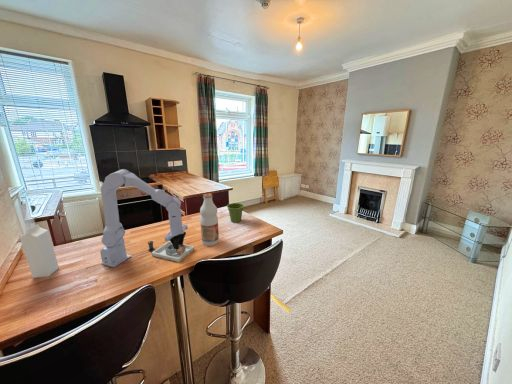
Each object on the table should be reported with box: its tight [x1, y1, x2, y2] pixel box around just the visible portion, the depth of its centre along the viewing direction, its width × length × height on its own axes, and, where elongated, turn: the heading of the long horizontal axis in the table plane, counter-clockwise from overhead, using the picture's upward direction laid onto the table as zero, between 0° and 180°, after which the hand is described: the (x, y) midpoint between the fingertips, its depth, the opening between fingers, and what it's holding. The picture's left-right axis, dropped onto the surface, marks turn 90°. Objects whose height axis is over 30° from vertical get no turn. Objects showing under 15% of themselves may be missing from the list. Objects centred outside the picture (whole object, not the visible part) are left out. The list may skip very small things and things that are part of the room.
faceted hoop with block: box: [165, 244, 186, 255], centre depth 106 cm, size 11×7×3 cm, turn 71°
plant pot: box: [226, 202, 245, 224], centre depth 145 cm, size 12×12×11 cm
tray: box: [151, 241, 195, 263], centre depth 107 cm, size 12×16×2 cm
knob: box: [147, 240, 156, 253], centre depth 109 cm, size 3×3×4 cm
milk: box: [19, 223, 60, 279], centre depth 88 cm, size 6×6×22 cm
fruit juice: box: [199, 193, 220, 247], centre depth 114 cm, size 9×9×28 cm
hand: (178, 247), depth 105 cm, fingers closed on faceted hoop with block, 2 cm apart
